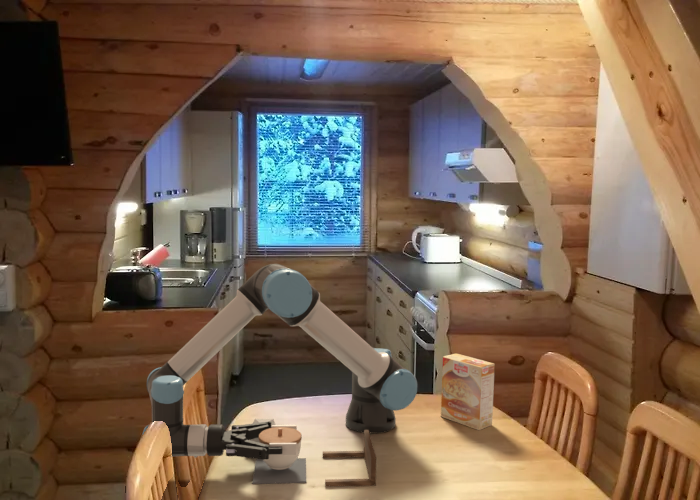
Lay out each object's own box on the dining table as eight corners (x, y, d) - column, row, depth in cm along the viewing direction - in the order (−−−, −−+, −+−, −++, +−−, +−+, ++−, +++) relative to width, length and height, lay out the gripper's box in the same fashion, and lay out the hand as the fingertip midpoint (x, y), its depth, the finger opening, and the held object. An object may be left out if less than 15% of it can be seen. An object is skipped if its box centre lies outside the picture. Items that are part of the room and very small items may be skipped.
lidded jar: (283, 451, 167) (283, 417, 166) (309, 465, 160) (310, 429, 159) (249, 463, 160) (250, 427, 159) (276, 478, 152) (276, 440, 151)
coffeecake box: (439, 416, 200) (441, 356, 198) (454, 411, 205) (456, 352, 203) (478, 431, 189) (481, 367, 187) (493, 425, 194) (495, 362, 192)
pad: (305, 459, 167) (305, 458, 167) (306, 482, 154) (306, 481, 154) (256, 460, 166) (256, 459, 166) (252, 483, 153) (252, 482, 153)
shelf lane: (367, 455, 171) (368, 429, 170) (375, 485, 153) (376, 457, 153) (322, 455, 170) (322, 430, 169) (325, 486, 152) (325, 458, 152)
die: (264, 459, 168) (285, 427, 170) (238, 441, 169) (258, 410, 171) (268, 457, 176) (287, 427, 178) (242, 440, 177) (262, 410, 179)
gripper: (213, 436, 170) (296, 435, 171) (200, 475, 147) (296, 474, 148) (213, 409, 169) (296, 408, 171) (200, 444, 146) (296, 443, 148)
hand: (296, 439), depth 160 cm, fingers closed on lidded jar, 11 cm apart
